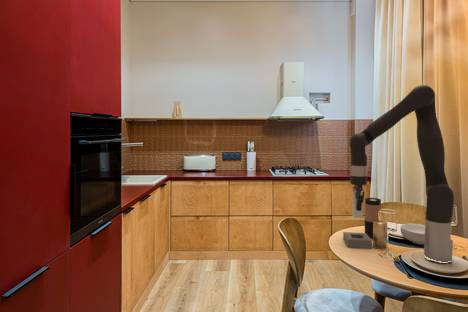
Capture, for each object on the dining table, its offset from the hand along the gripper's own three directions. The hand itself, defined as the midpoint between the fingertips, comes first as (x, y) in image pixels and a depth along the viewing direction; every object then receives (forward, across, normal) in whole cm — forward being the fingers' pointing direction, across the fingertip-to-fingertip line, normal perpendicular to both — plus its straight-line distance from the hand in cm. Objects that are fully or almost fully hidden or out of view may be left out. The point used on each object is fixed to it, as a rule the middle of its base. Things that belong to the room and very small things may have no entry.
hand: (357, 209), depth 147 cm
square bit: (+4, 0, 0) cm, 4 cm away
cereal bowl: (+18, +8, -32) cm, 37 cm away
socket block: (+18, 0, 0) cm, 18 cm away
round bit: (+17, -2, -10) cm, 20 cm away
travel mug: (+18, +13, -11) cm, 24 cm away
